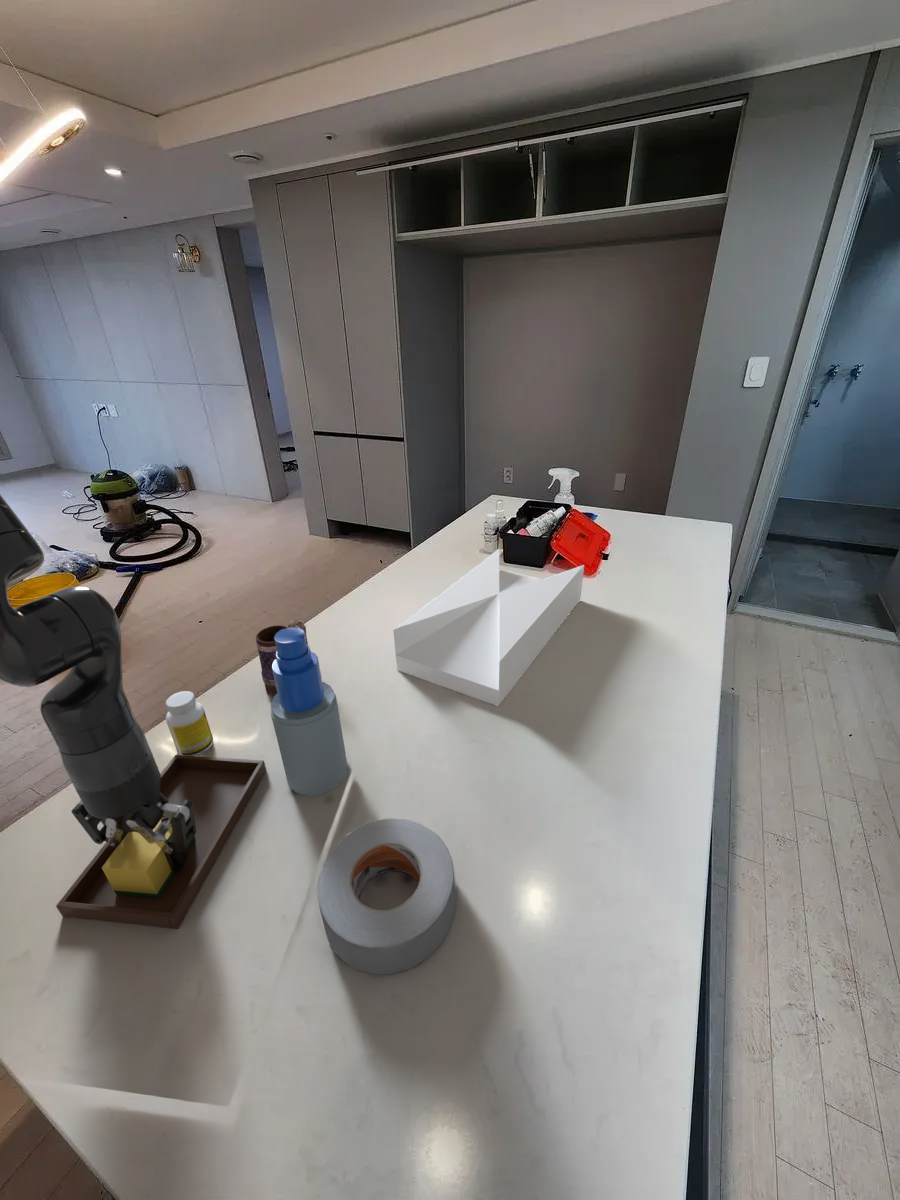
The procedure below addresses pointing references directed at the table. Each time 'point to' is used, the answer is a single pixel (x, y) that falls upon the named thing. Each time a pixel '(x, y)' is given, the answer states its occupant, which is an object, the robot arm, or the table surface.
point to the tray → (217, 810)
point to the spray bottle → (306, 718)
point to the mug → (272, 651)
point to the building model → (485, 629)
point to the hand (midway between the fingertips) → (157, 862)
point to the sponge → (139, 867)
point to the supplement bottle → (188, 724)
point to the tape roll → (401, 930)
